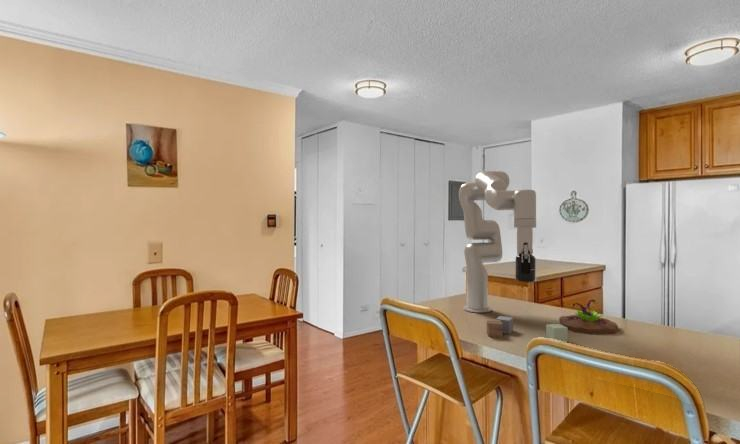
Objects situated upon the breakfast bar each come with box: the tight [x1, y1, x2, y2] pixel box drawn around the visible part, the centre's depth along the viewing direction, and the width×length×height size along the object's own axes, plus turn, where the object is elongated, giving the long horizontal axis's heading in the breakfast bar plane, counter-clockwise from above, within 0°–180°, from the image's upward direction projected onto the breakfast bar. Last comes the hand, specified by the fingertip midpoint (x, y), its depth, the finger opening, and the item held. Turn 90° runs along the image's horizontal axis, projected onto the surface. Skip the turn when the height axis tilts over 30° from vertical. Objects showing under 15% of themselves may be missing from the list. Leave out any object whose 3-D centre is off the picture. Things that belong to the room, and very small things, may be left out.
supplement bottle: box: [514, 248, 537, 283], centre depth 143 cm, size 7×7×12 cm
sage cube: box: [545, 323, 569, 343], centre depth 138 cm, size 5×5×5 cm
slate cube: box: [495, 315, 514, 335], centre depth 149 cm, size 5×5×5 cm
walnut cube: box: [486, 319, 504, 338], centre depth 145 cm, size 5×5×5 cm
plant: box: [558, 299, 619, 335], centre depth 153 cm, size 20×20×11 cm
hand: (525, 271), depth 143 cm, fingers closed on supplement bottle, 6 cm apart
